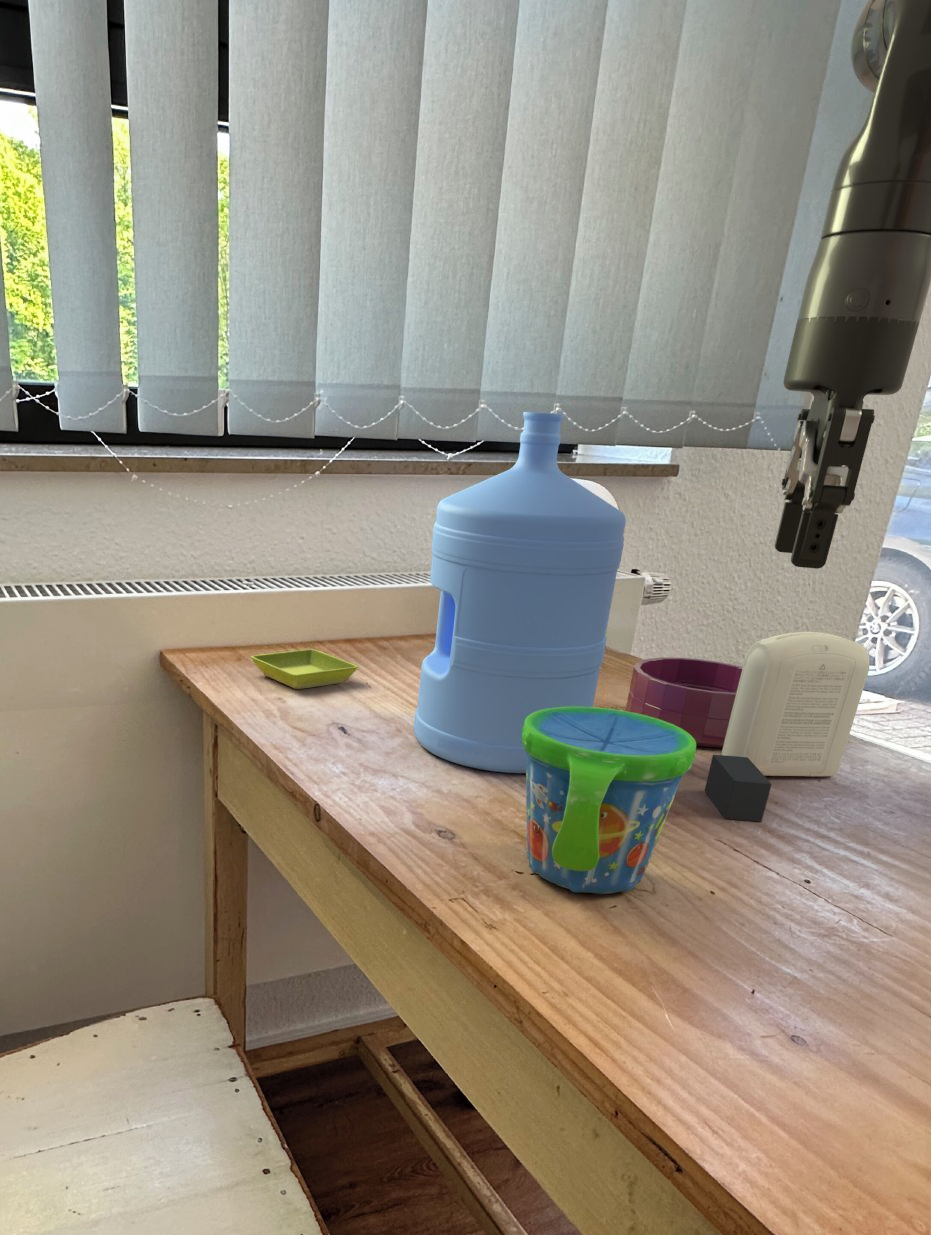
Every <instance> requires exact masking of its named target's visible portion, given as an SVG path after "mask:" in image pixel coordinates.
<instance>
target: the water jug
mask: <svg viewBox="0 0 931 1235" xmlns="http://www.w3.org/2000/svg"><path fill="white" fill-rule="evenodd" d="M522 417H523V419H524V423H523V430H522V432H521V433H520V437H519V442H520V446H519V453H518V458H517V461H516V462H515V464H514V465H513V466H512V467H511V468H509V469H507V470H505V471H502V472H501V473H498V474H496V475H494V476H491V477H489V478H487V479H485V480H482V481H480V482H478V483H475V484H473V485H471V486H469V487H467V488H465V489H462V490H460V491H457V492H455V493H453V494H451V495H448V496H446V497H444V498H442V499H441V500H440V501H439V502H438V504H437V508H436V517H435V522H434V525H433V530H432V538H431V539H432V540H431V553H432V557H431V566H430V575H429V583H430V584H431V585H432V586H433V587H434V588H435V589H437V590H439V591H440V594H439V595H440V596H439V604H438V614H437V623H436V634H435V642H434V648H433V650H432V651H431V652H430V653H429V654H428V655H427V656H425V658H424V659H423V661H421V668H420V675H419V686H418V687H419V688H418V698H417V707H416V709H415V712H414V719H413V721H414V722H413V732H414V736H415V738H416V740H417V742H418V743H419V744H420V745H421V746H422V747H423V748H424V749H425V750H426V751H428V752H429V753H431V754H434V755H435V756H437V757H438V758H440V759H443V760H446V761H448V762H451V763H454V764H457V765H460V766H464V767H467V768H471V769H472V768H473V769H477V770H482V771H483V770H484V771H489V772H498V773H506V774H526V769H527V766H526V764H527V762H526V761H527V755H526V751H525V748H524V746H523V743H522V731H523V726H524V722H525V719H526V717H527V716H529V715H530V714H532V713H534V712H536V711H539V710H543V709H548V708H557V707H574V706H576V707H594V704H595V698H596V693H597V687H598V681H599V675H600V669H601V667H602V666H603V662H604V658H605V652H606V647H607V630H608V625H609V620H610V613H611V608H612V602H613V596H614V591H615V586H616V579H617V574H618V569H619V568H620V567H621V566H620V565H621V562H622V558H623V550H624V546H625V544H624V543H625V537H624V533H625V528H626V523H627V518H626V515H625V513H623V511H621V510H620V509H618V508H617V507H615V506H613V505H612V504H610V502H608V501H606V500H604V499H603V498H602V497H600V496H599V495H596V493H594V492H592V491H591V490H589V489H587V487H585V486H584V485H581V484H580V483H579V482H577V481H575V480H574V479H572V478H571V477H570V476H569V475H566V474H565V473H563V472H562V470H560V468H559V465H558V452H559V446H560V444H561V439H562V435H561V434H560V433H561V432H560V431H561V424H562V421H563V420H564V418H565V414H564V413H552V412H537V411H536V412H535V411H523V414H522Z"/></svg>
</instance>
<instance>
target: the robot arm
mask: <svg viewBox="0 0 931 1235" xmlns="http://www.w3.org/2000/svg"><path fill="white" fill-rule="evenodd" d="M850 61H851V62H850V63H851V67H852V69H853V73H854V74H855V77H856V79H857V80H858V82H859V83H860V84H861V85H862V86H863V88H865V89H867V91H869V92H871V93H873V97H872V100H871V103H870V106H869V110H868V112H867V116H866V118H865V121H864V123H863V125H862V126H861V127H860V130H859V131H858V133H857V134H856V136H855V137H854V138H853V140H852V141H851V142H850V143H849V144H848V146H847V147H846V149H845V151H844V152H843V154H842V156H841V158H840V160H839V163H838V166H837V169H836V171H835V174H834V177H833V178H834V179H833V183H832V186H831V190H830V194H829V200H828V204H827V207H826V211H825V217H824V222H823V225H822V230H821V235H820V241H819V242H818V244H817V245H818V246H817V250H816V253H815V255H814V258H813V261H812V263H811V266H810V269H809V272H808V275H807V278H806V282H805V286H804V290H803V295H802V299H801V303H800V306H799V312H798V316H797V321H796V325H795V329H794V333H793V338H792V342H791V346H790V351H789V355H788V360H787V364H786V368H785V372H784V376H783V386H784V388H785V389H786V390H788V391H793V392H806V393H810V394H812V396H813V400H812V401H811V405H810V408H802V409H801V411H800V413H798V415H797V423H796V427H795V429H794V433H793V441H792V445H791V449H790V452H789V457H788V459H787V462H786V469H785V472H784V476H783V478H782V479H781V490H782V496H783V500H784V501H785V502H784V504H783V508H782V513H781V516H780V522H779V524H778V528H777V533H776V538H775V541H774V549H775V550H776V551H777V552H779V553H785V554H791V556H790V563H791V564H792V565H793V566H794V567H797V568H803V569H816V570H817V569H822V568H823V567H824V566H825V565H826V563H827V559H828V557H829V552H830V548H831V545H832V542H833V537H834V533H835V529H836V527H837V526H836V525H837V522H838V519H839V514H842V513H843V512H844V509H846V507H850V506H851V504H852V502H853V501H854V499H855V497H856V493H855V491H856V488H857V484H858V480H859V475H860V471H861V468H862V464H863V460H864V457H865V453H866V448H867V446H868V445H867V444H868V440H869V437H870V433H871V430H872V429H871V428H872V425H873V424H874V422H875V418H876V415H875V409H874V408H873V409H871V408H864V399H865V397H866V396H890V395H894V394H897V393H898V392H899V391H900V390H901V389H902V387H903V384H904V380H905V376H906V373H907V370H908V366H909V362H910V359H911V355H912V351H913V347H914V344H915V341H916V337H917V333H918V329H919V326H920V322H921V319H922V315H923V312H924V307H925V305H926V302H927V297H928V293H929V290H930V287H931V0H867V1H866V3H865V5H864V7H863V9H862V10H861V12H860V14H859V16H858V18H857V21H856V23H855V26H854V29H853V33H852V37H851V43H850Z"/></svg>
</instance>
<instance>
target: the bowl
mask: <svg viewBox="0 0 931 1235" xmlns="http://www.w3.org/2000/svg"><path fill="white" fill-rule="evenodd" d="M742 669H743V666H740V665H735V664H731V663H726V662H721V661H715V660H708V659H701V658H691V657H690V658H689V657H653V658H645V659H642V660H639V661H637V662H635V664H634V666H633V670H632V674H631V680H630V685H629V691H628V696H627V702H626V706H625V711H628V712H632V713H638V714H642V715H646V716H649V717H653V718H656V719H659V720H663V721H665V722H668V723H670V724H673V725H675V726H677V727H679V728H681V729H683V730H685V731H686V732H687V733H689V734H690V735H691V736H692V737H693V738H694V739H695V742H696V747H704V748H722V749H723V746H724V741H725V737H726V733H727V729H728V725H729V721H730V717H731V713H732V709H733V705H734V701H735V697H736V693H737V689H738V685H739V681H740V677H741V673H742Z"/></svg>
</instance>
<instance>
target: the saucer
mask: <svg viewBox="0 0 931 1235" xmlns="http://www.w3.org/2000/svg"><path fill="white" fill-rule="evenodd" d="M250 659H251V660H252V662H253V663H254V665H255V666H256V667H257V669H258V670H259V671H260V672H262V674H263V675H264V676H265V677H268V678H270V679H273V680H275V681H277V682H279V683H281V684H283V685H286V686H288V687H290V688H292V689H295V690H302V689H310V688H316V687H324V686H331V685H337V684H341V683H343V682H345V681H346V680H348V679H349V678H350V677H351V676H353V674H354V673H355V672H356V671H358V668H359V666H358V665H357V664H354V663H352V662H350V661H347V660H344V659H341V658H339V657H336V656H334V655H331V654H328V653H326V652H323V651H320V650H318V649H315V648H308V649H306V648H305V649H298V650H290V651H289V650H288V651H281V652H280V651H279V652H272V653H263V654H256V655H255V654H254V655H250Z"/></svg>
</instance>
